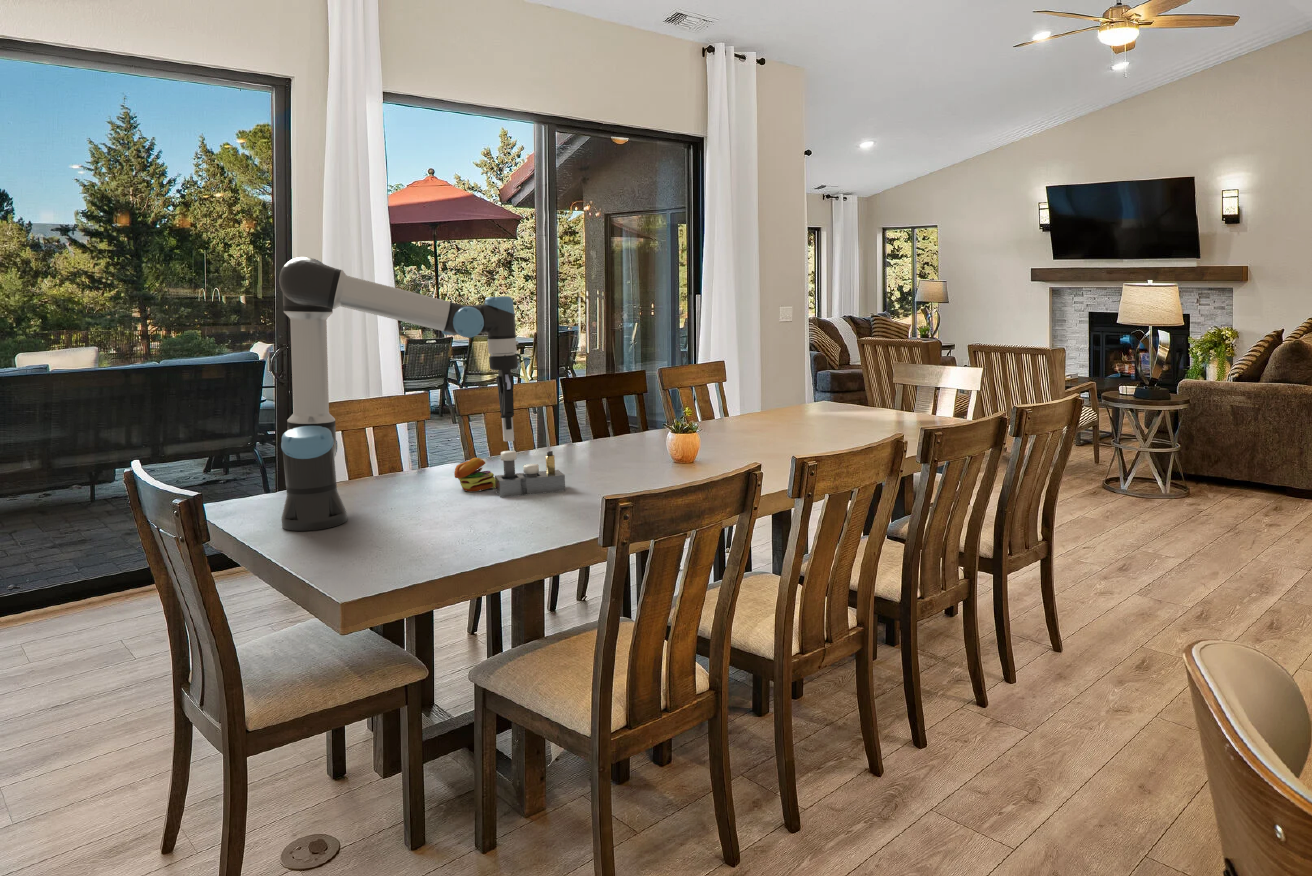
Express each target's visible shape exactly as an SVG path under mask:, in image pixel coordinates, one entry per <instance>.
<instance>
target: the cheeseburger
mask: <svg viewBox="0 0 1312 876" xmlns="http://www.w3.org/2000/svg"><path fill="white" fill-rule="evenodd" d="M486 463H487V462H486V461H485V460H484V459H482V458H480V457H473V458H471V459H469V460H468V461H464V462H462V463H459V464H457V465H456V467H454V472H453V473H454V478H455V479H458V481H459V483H460V486H461V488H462V490H463V491H465V492H471V493H474V492H481V491H484V490H489V489H496V487H495V474H494V473H493V472H492V471H491V470H483V466H485V464H486Z"/></svg>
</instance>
